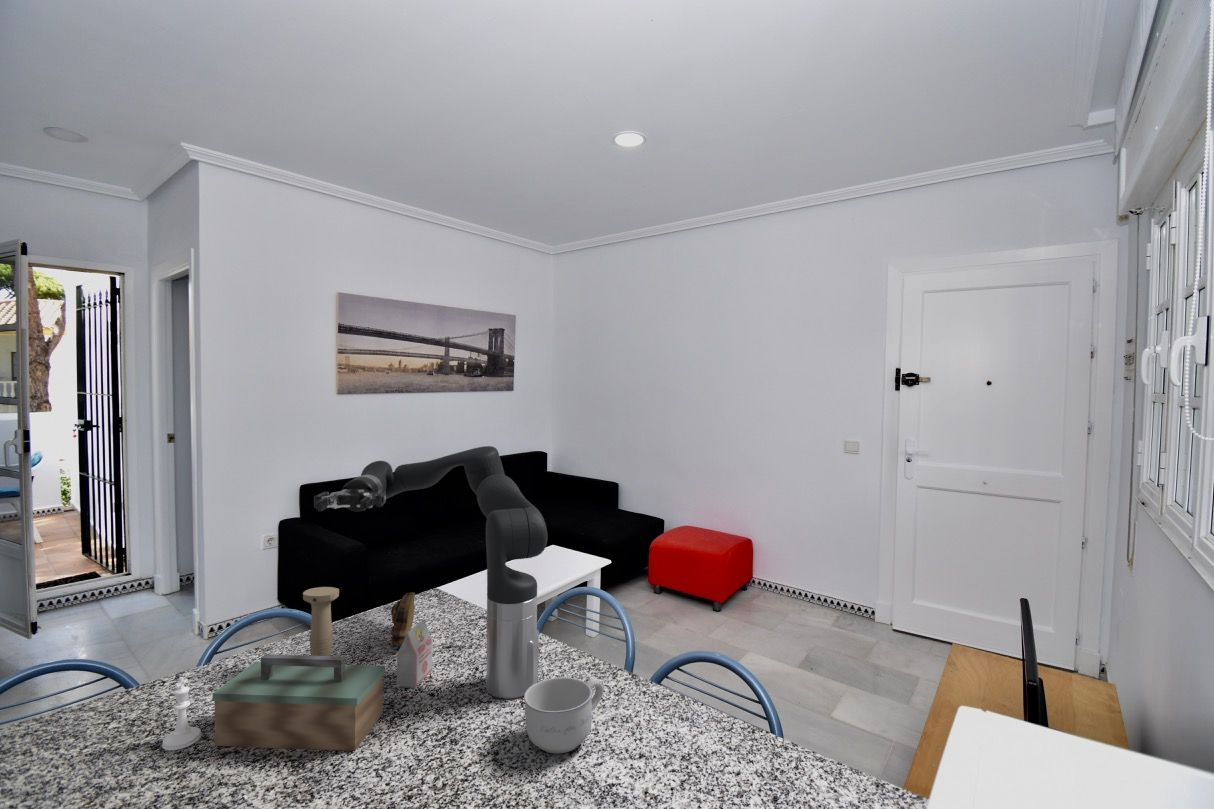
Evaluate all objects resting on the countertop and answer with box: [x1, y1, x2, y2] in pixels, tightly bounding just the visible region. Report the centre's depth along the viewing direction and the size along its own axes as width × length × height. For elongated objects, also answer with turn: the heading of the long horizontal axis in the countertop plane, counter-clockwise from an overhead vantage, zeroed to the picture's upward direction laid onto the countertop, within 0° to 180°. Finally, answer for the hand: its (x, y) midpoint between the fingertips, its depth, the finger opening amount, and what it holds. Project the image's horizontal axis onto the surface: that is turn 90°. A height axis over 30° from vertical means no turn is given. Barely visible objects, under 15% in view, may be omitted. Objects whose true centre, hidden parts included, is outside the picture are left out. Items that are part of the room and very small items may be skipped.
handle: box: [302, 586, 340, 656], centre depth 112 cm, size 5×6×15 cm
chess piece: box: [161, 676, 202, 751], centre depth 88 cm, size 5×5×10 cm
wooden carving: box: [390, 592, 416, 647], centre depth 124 cm, size 16×5×10 cm, turn 16°
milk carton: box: [396, 619, 433, 689], centre depth 108 cm, size 4×7×10 cm, turn 171°
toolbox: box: [212, 653, 386, 752], centre depth 96 cm, size 23×18×12 cm
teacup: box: [523, 676, 604, 755], centre depth 90 cm, size 14×11×8 cm
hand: (340, 506), depth 120 cm, fingers open, 8 cm apart
